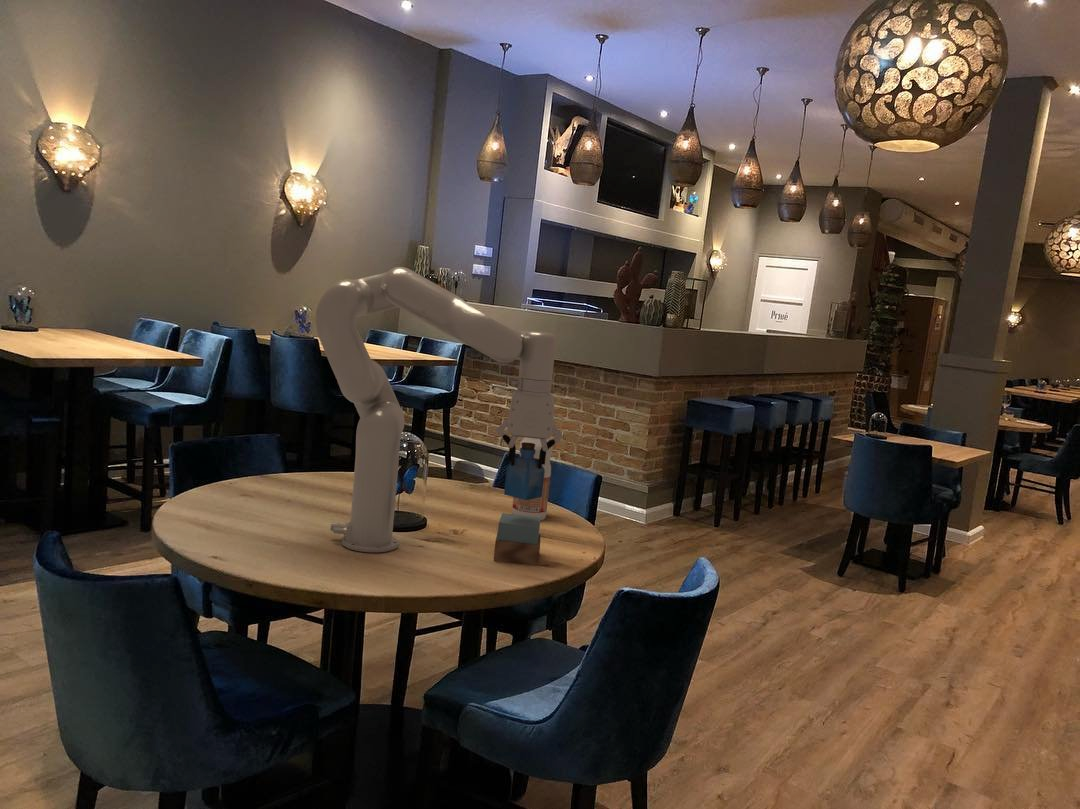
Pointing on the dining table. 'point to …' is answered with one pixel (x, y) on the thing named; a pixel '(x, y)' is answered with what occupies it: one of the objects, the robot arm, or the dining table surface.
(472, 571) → the dining table surface
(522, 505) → the fruit juice
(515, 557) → the tower base
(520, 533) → the tower top
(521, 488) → the perfume bottle
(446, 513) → the dining table surface
